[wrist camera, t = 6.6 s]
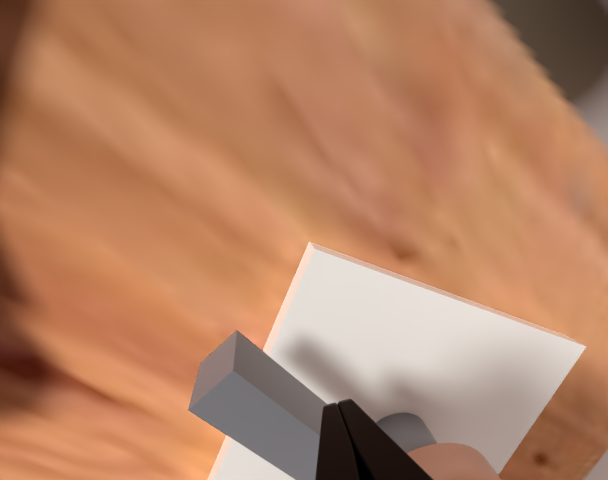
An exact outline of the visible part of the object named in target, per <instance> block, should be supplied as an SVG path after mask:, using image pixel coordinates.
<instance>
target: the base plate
mask: <svg viewBox="0 0 608 480" xmlns="http://www.w3.org/2000/svg"><path fill="white" fill-rule="evenodd" d="M585 348H586V346H584V345H583V344H581V343H579V342H577V341H575V340H574V339H572V338H570V337H568V336H567V335H564V334H562V333H559V332H556V331H554V330H551V329H548V328H545V327H543V326H540V325H537V324H534V323H532V322H529V321H526V320H523V319H521V318H518V317H515V316H513V315H510V314H507V313H504V312H502V311H499V310H496V309H493V308H491V307H488V306H485V305H482V304H480V303H477V302H474V301H471V300H469V299H466V298H463V297H461V296H458V295H455V294H452V293H450V292H447V291H444V290H441V289H439V288H436V287H433V286H430V285H428V284H425V283H422V282H420V281H417V280H414V279H411V278H409V277H406V276H403V275H400V274H398V273H395V272H392V271H389V270H387V269H384V268H381V267H378V266H376V265H373V264H370V263H368V262H365V261H362V260H359V259H357V258H354V257H351V256H348V255H346V254H343V253H340V252H337V251H335V250H332V249H329V248H327V247H324V246H321V245H318V244H316V243H313V242H310V241H309V243H308V245H307V248H306V250H305V252H304V255H303V257H302V259H301V262H300V264H299V266H298V269H297V271H296V273H295V276H294V278H293V280H292V283H291V285H290V287H289V290H288V292H287V294H286V297H285V299H284V301H283V304H282V306H281V309H280V311H279V313H278V316H277V318H276V320H275V323H274V325H273V327H272V330H271V332H270V334H269V337H268V339H267V341H266V344H265V346H264V348H263V352H264V353H266V354H267V355H268V356H269V357H270V358H272V359H273V360H274V361H275V362H277V363H278V364H279V365H280V366H281V367H283V368H284V369H285V370H286V371H288V372H289V373H290V374H291V375H292V376H294V377H295V378H296V379H297V380H299V381H300V382H301V383H302V384H303V385H305V386H306V387H307V388H308V389H310V390H311V391H312V392H313V393H314V394H316V395H317V396H318V397H319V398H321V399H322V400H323V401H324V402H325V403H327V404H330V403H334V402H336V403H337V404H338V402H339V401H341V400H345V399H349V398H350V399H352V400H353V401H354V402H355V403H357V404H358V405H359V406H360V407H361V408H362V409H363V410H364V411H365V412H366V413H367V414H368V415H369V416H370V417H371V418H372V419H373V420H374V421H375V422H376V423H377V424H378V425H379V426H380V427H381V428H382V429H383V430H384V431H385V432H386V433H387V434H388V435H389V436H390V437H391V438H392V439H393V440H394V441H395V442H396V443H397V444H398V445H399V446H400V447H401V448H402V449H403V450H404V451H405V452H406V453H408V452H410V451H413V450H415V449H418V448H421V447H424V446H427V445H432V444H438V443H459V444H464V445H467V446H470V447H472V448H474V449H476V450H477V451H479V452H480V453H481V454H482V455H483V456H484V457H485V458H486V460H487V461H488V462H489V464H490V465H491V466H492V467H493V469H494V470H495V471H496V473H497V474H498V475H499V473H500V472H501V471H502V469H503V468H504V466H505V465H506V463H507V462H508V460H509V459H510V457H511V456H512V454H513V453H514V452H515V450H516V449H517V447H518V446H519V444H520V443H521V441H522V440H523V438H524V437H525V435H526V434H527V433H528V431H529V430H530V428H531V427H532V425H533V424H534V422H535V421H536V419H537V418H538V416H539V415H540V414H541V412H542V411H543V409H544V408H545V406H546V405H547V403H548V402H549V400H550V399H551V398H552V396H553V395H554V393H555V392H556V390H557V389H558V387H559V386H560V384H561V383H562V381H563V380H564V379H565V377H566V376H567V374H568V373H569V371H570V370H571V368H572V367H573V365H574V364H575V362H576V361H577V360H578V358H579V357H580V355H581V354H582V352H583V351H584V349H585ZM207 480H295V479H294V478H292V477H291V476H289V475H288V474H286V473H284V472H283V471H281V470H280V469H278V468H277V467H275V466H274V465H272V464H271V463H269V462H267V461H266V460H264V459H263V458H261V457H260V456H258V455H257V454H255V453H254V452H252V451H250V450H249V449H247V448H246V447H244V446H243V445H241V444H240V443H238V442H237V441H235V440H233V439H232V438H230V437H229V436H227V435H226V437H225V439H224V442H223V444H222V446H221V449H220V451H219V453H218V456H217V458H216V460H215V463H214V465H213V467H212V470H211V472H210V474H209V477H208V479H207Z"/></svg>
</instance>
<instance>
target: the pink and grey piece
mask: <svg viewBox="0 0 608 480" xmlns="http://www.w3.org/2000/svg"><path fill="white" fill-rule="evenodd" d="M324 405H327V403H325V402H324V401H323V400H322V399H321V398H319V397H318V396H317V395H316V394H314V393H313V392H312V391H311V390H310V389H308V388H307V387H306V386H305V385H303V384H302V383H301V382H300V381H299V380H297V379H296V378H295V377H294V376H292V375H291V374H290V373H289V372H288V371H286V370H285V369H284V368H283V367H281V366H280V365H279V364H278V363H277V362H275V361H274V360H273V359H272V358H270V357H269V356H268V355H267V354H266V353H264V352H263V351H262V350H261V349H259V348H258V347H257V346H256V345H255V344H253V343H252V342H251V341H250V340H248V339H247V338H246V337H245V336H244V335H242V334H241V333H240V332H239V331H235V332H234V333H233V334H232V335H231V336H230V337H229V338H228V339H226V340H225V341H224V342H223V343H222V344H221V345H220V346H219V347H218V348H216V349H215V350H214V351H213V352H212V353H211V354H210V355H209V356H207V357H206V358H205V359H204V360H203V361H202V362H201V363H200V367H199V370H198V374H197V378H196V382H195V386H194V390H193V393H192V397H191V401H190V405H189V409H188V410H189V411H190V412H192V413H193V414H195V415H196V416H198V417H199V418H201V419H203V420H204V421H206V422H207V423H209V424H210V425H212V426H213V427H215V428H216V429H218V430H220V431H221V432H223V433H224V434H226V435H227V436H229V437H230V438H232V439H233V440H235V441H237V442H238V443H240V444H241V445H243V446H244V447H246V448H247V449H249V450H250V451H252V452H254V453H255V454H257V455H258V456H260V457H261V458H263V459H264V460H266V461H267V462H269V463H271V464H272V465H274V466H275V467H277V468H278V469H280V470H281V471H283V472H284V473H286V474H288V475H289V476H291V477H292V478H294V479H295V480H315V477H316V467H317V458H318V448H319V439H320V429H321V420H322V410H323V406H324ZM407 454H408V455H409V456H410V457H411V458H412V459H413V460H414V461H415V462H416V463H417V464H418V465H419V466H420V467H421V468H422V469H423V470H424V471H425V472H426V473H428V474H429V475H430V476H431V477H432V478H433V479H434V480H502V479H501V478H500V476H499V475H498V474H497V473H496V471H495V470H494V469H493V467H492V466H491V465H490V464H489V462H488V461H487V460H486V458H485V457H484V456H483V455H482V454H481V453H480V452H479V451H477V450H476V449H474V448H472V447H470V446H467V445H464V444H459V443H438V444H432V445H427V446H424V447H421V448H418V449H415V450H413V451H410V452H408V453H407Z"/></svg>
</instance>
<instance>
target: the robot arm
mask: <svg viewBox="0 0 608 480" xmlns="http://www.w3.org/2000/svg"><path fill="white" fill-rule="evenodd" d="M315 480H434V479H433V478H432V477H431V476H430V475H429V474H428V473H426V472H425V471H424V470H423V469H422V468H421V467H420V466H419V465H418V464H417V463H416V462H415V461H414V460H413V459H412V458H411V457H410V456H409V455H408V454H407V453H406V452H405V451H404V450H403V449H402V448H401V447H400V446H399V445H398V444H397V443H396V442H395V441H394V440H393V439H392V438H391V437H390V436H389V435H388V434H387V433H386V432H385V431H384V430H383V429H382V428H381V427H380V426H379V425H378V424H377V423H376V422H375V421H374V420H373V419H372V418H371V417H370V416H369V415H368V414H367V413H366V412H365V411H364V410H363V409H362V408H361V407H360V406H359V405H358V404H357V403H355V402H354V401H353V400H352V399H350V398H349V399H345V400H341V401H339V402H338V404H337V403H336V402H334V403H330V404H327V405H324V406H323V410H322V420H321V429H320V439H319V448H318V458H317V467H316V477H315Z"/></svg>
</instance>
